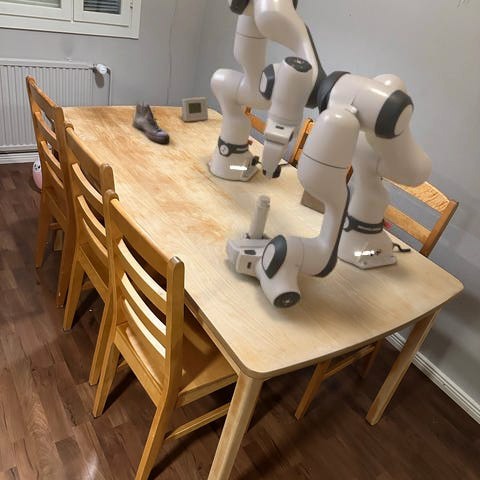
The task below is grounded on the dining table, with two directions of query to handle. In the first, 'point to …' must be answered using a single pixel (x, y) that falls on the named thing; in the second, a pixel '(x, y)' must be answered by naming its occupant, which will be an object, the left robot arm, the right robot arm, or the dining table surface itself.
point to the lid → (276, 172)
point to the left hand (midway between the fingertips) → (271, 174)
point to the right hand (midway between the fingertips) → (253, 235)
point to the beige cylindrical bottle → (259, 217)
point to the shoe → (149, 124)
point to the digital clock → (194, 109)
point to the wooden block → (312, 202)
